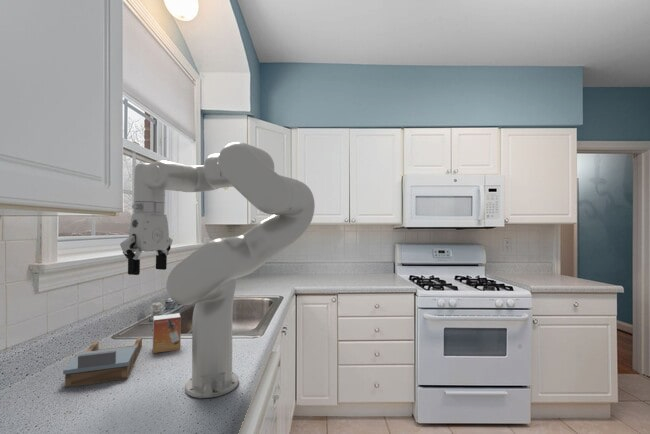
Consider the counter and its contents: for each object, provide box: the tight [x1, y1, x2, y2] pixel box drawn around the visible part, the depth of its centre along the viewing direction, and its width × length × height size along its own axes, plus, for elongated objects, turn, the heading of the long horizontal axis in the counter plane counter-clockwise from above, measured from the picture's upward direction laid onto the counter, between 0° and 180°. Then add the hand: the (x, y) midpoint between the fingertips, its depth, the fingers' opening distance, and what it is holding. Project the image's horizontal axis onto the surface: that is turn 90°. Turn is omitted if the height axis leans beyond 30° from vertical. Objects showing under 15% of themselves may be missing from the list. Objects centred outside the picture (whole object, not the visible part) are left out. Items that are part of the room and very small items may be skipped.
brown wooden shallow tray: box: [64, 336, 143, 388], centre depth 97 cm, size 24×13×3 cm, turn 20°
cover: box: [62, 345, 136, 375], centre depth 91 cm, size 12×14×4 cm
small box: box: [152, 312, 182, 354], centre depth 109 cm, size 8×6×10 cm
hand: (148, 271), depth 92 cm, fingers open, 9 cm apart
